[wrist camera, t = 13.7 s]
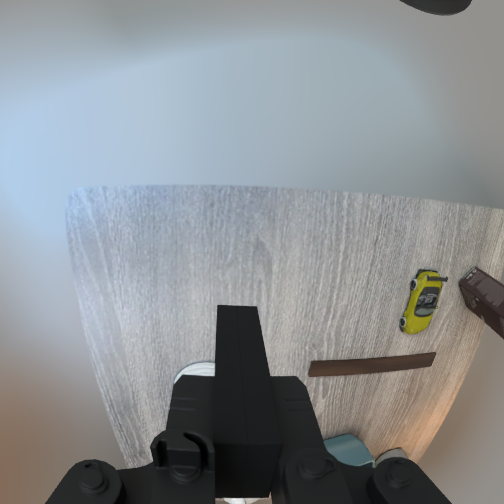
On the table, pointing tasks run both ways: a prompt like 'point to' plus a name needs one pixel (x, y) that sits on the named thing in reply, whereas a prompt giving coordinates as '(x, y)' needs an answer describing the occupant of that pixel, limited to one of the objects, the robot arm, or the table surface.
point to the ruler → (370, 365)
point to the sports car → (422, 301)
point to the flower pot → (350, 450)
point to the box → (484, 298)
